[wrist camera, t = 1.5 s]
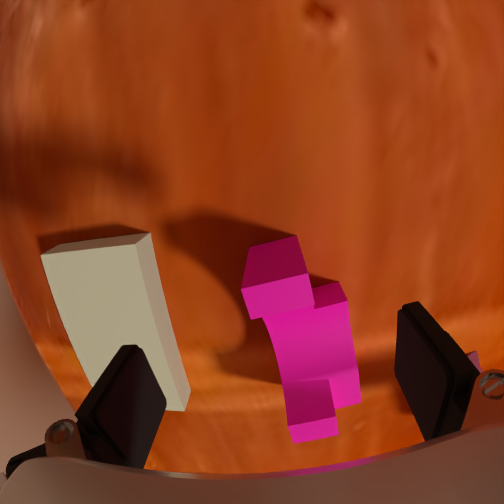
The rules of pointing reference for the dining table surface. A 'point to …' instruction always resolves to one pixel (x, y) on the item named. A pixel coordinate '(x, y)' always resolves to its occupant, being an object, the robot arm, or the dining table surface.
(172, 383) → the base slab
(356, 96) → the dining table surface
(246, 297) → the toy block
